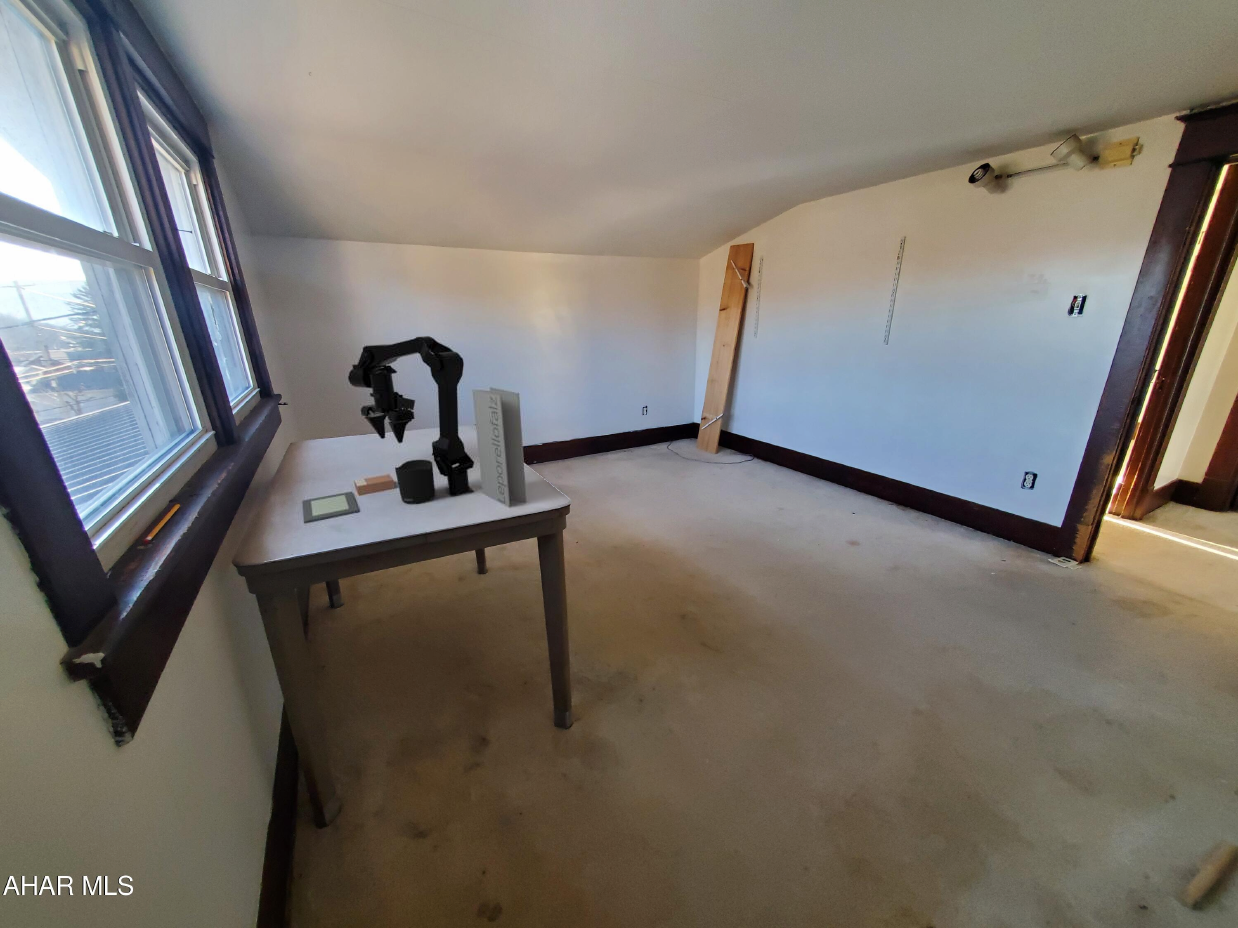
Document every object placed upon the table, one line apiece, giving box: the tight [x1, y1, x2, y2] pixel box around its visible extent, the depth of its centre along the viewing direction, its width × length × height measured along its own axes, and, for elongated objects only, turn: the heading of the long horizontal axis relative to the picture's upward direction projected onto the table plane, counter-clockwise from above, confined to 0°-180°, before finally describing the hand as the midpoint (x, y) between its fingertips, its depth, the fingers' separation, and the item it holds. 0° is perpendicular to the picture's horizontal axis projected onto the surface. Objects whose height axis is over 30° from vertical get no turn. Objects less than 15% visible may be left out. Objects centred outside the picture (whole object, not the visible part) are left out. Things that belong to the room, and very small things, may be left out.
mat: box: [301, 491, 360, 524], centre depth 123 cm, size 16×12×1 cm
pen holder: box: [394, 459, 436, 505], centre depth 127 cm, size 9×9×10 cm
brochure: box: [472, 386, 527, 508], centre depth 125 cm, size 14×6×30 cm, turn 45°
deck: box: [353, 474, 396, 497], centre depth 135 cm, size 10×6×3 cm, turn 126°
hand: (391, 440), depth 139 cm, fingers open, 9 cm apart
